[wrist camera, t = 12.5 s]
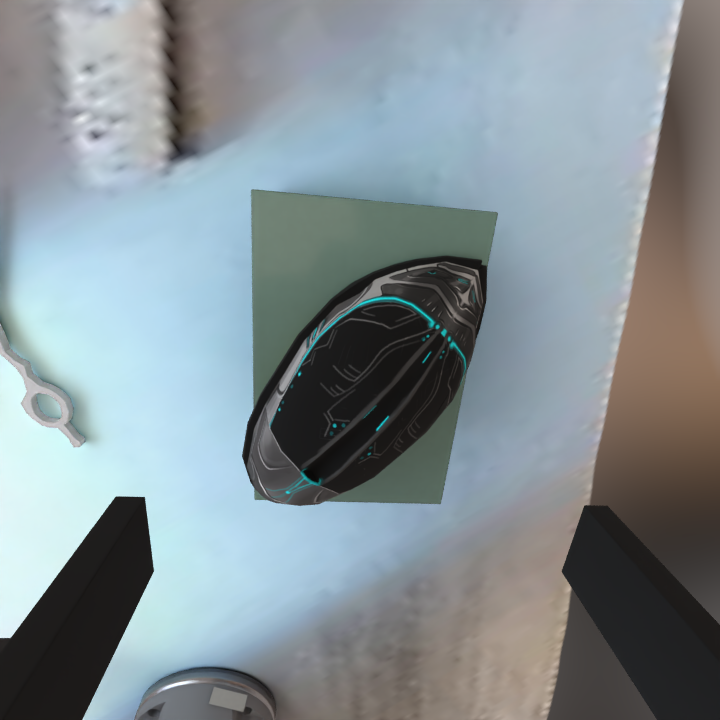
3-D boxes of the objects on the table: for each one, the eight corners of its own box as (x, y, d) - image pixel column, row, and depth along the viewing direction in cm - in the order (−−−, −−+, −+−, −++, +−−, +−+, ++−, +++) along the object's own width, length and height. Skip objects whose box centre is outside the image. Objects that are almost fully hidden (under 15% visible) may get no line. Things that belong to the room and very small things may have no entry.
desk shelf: (414, 431, 34) (440, 504, 26) (273, 426, 33) (254, 500, 25) (448, 210, 28) (498, 212, 20) (276, 194, 27) (250, 189, 19)
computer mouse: (528, 317, 22) (592, 354, 16) (318, 503, 25) (314, 583, 20) (424, 196, 19) (459, 193, 14) (206, 422, 23) (167, 489, 17)
